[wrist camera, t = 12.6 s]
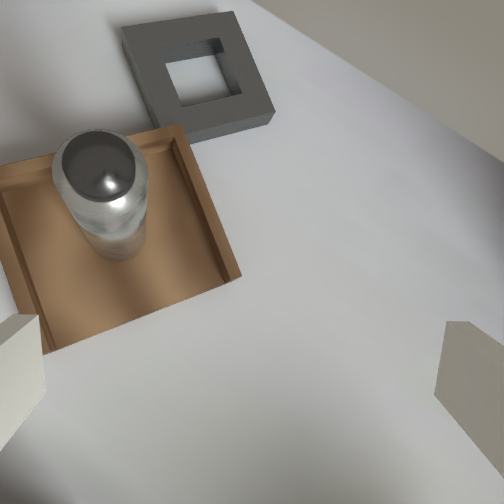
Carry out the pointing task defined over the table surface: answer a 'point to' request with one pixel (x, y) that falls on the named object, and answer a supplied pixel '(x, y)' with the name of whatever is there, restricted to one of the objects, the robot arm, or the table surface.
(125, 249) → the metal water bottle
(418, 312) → the table surface
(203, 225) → the brown wooden tray
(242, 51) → the socket
